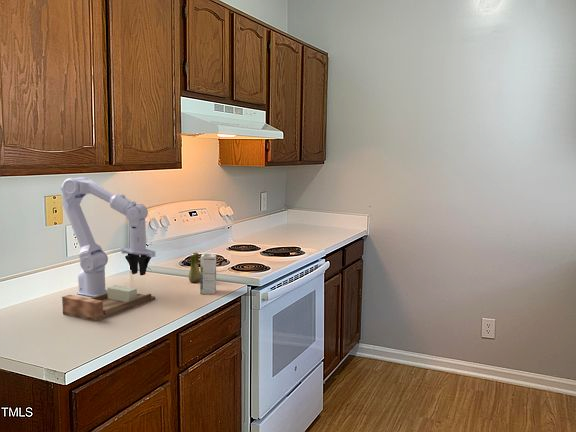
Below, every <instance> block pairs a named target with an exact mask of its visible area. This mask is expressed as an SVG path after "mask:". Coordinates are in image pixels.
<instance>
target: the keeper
mask: <svg viewBox="0 0 576 432" xmlns="http://www.w3.org/2000/svg"><path fill="white" fill-rule="evenodd" d="M106 290H107V293H108V299H112V300H117V301H122V302H127V301H130V300H133V299H136V298H137V294H138V289H137V288H134V287H127V286H121V285H116V284H114V285H112V286H109V287H107V289H106Z"/></svg>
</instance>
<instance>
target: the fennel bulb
mask: <svg viewBox="0 0 576 432" xmlns="http://www.w3.org/2000/svg"><path fill="white" fill-rule="evenodd" d="M189 257H190V258H189V259H190V269H189V273H188V280H189V282H190V283H200V266H199V253H198V252H193V254H190V256H189Z"/></svg>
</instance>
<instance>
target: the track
mask: <svg viewBox="0 0 576 432" xmlns="http://www.w3.org/2000/svg"><path fill="white" fill-rule="evenodd" d="M61 300H62V315H64V316H69V317H74V318H79V319H83V320H88V321H92V322H98V321H102V320H104V319H107V318H110V317H112V316H115V315H117V314H120V313H123V312H125V311H128V310H130V309H133V308H136V307H138V306H141V305H144V304H147V303H149V302H151V301H155V300H156V296H153V295H152V293H147V294H143V293H142V294H141V293H137V298H136V299H133V300H130V301H127V302H122V301H117V300H112V299H108V293H105V294H102V295H99V296H95V297H92V296H91V297H84V296H81V295H79V296H78V295H73V294H65V295H63V296H61Z"/></svg>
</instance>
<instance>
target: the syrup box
mask: <svg viewBox="0 0 576 432" xmlns="http://www.w3.org/2000/svg"><path fill="white" fill-rule="evenodd" d="M199 259H200V266H199V271H200V281H199V283H200V284H199V285H200V286H199V287H200V289H199V290H200V291H199V292H200V295H215V294H216V291H217V254H216V253H201V256H200V258H199Z"/></svg>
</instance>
